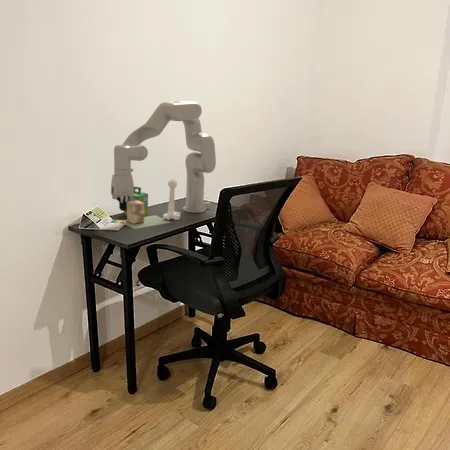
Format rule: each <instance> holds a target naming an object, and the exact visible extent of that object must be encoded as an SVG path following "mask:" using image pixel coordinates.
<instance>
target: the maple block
mask: <svg viewBox="0 0 450 450" xmlns="http://www.w3.org/2000/svg"><path fill="white" fill-rule="evenodd" d="M144 217H145V215H144V203H143V202H141V201H138V200H137V201H129V202H127V216H126V220H127V222H129V223H131V224H133V225H134V224H140V223H144Z"/></svg>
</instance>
